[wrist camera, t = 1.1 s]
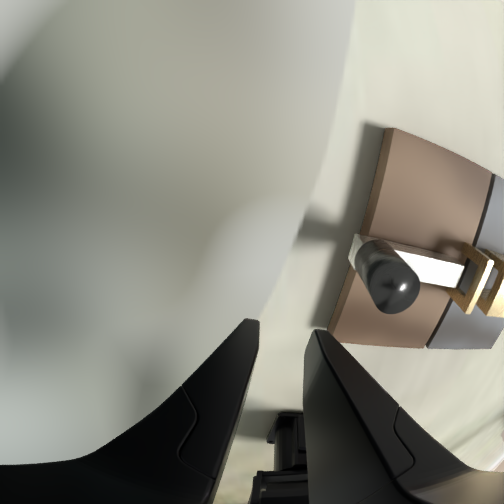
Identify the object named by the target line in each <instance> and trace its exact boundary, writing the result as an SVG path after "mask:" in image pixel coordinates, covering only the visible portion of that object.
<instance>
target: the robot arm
mask: <svg viewBox="0 0 504 504" xmlns="http://www.w3.org/2000/svg"><path fill="white" fill-rule="evenodd" d="M259 329H260V322H259V321H258V320H254V319H248V318H246V319H244V320H243V321H242V322H241V323H240V324H239V325H238V327H237V328H236V329H235V330H234V331H233V332H232V333H231V334H230V335H229V336H228V337H227V339H225V340H224V341H223V342H222V344H221V345H220V346H219V347H218V348H217V349H216V350H215V351H214V352H213V353H212V354H211V355H210V356H209V357H208V358H207V359H206V360H205V361H204V362H203V364H202V365H200V367H199V368H198V369H197V370H196V371H195V372H194V373H193V374H192V375H191V376H190V377H189V378H188V379H187V380H186V381H185V382H184V383H183V384H182V386H180V387H179V388H178V389H177V390H176V391H175V392H174V393H173V394H172V395H171V396H170V397H169V398H168V399H166V400H165V401H164V402H163V403H162V404H161V405H160V406H159V407H158V408H156V409H155V410H154V411H153V412H151V413H150V414H149V415H147V416H146V417H145V418H143V419H142V420H141V421H139V422H138V423H137V424H135V425H134V426H132V427H131V428H129V429H128V430H126V431H125V432H124V433H122V434H121V435H119V436H118V437H116V438H115V439H113V440H112V441H110V442H109V443H107V444H106V445H104V446H103V447H101V448H99V449H98V450H96V451H95V452H92V453H90V454H88V455H86V456H83V457H80V458H76V459H72V460H66V461H58V462H48V463H37V464H20V465H0V504H213V501H214V498H215V495H216V492H217V489H218V486H219V483H220V480H221V477H222V474H223V471H224V468H225V465H226V462H227V459H228V455H229V452H230V449H231V446H232V443H233V440H234V436H235V433H236V430H237V427H238V423H239V420H240V417H241V413H242V410H243V407H244V403H245V400H246V396H247V392H248V389H249V385H250V381H251V377H252V373H253V370H254V366H255V362H256V358H257V354H258V350H259ZM303 412H304V414H294V413H279V414H278V415H277V417H276V420H275V422H274V424H273V426H272V428H271V431H270V433H269V435H268V437H267V443H269V444H275V446H274V471H257V476H254V477H253V487H252V492H251V495H250V498H249V501H248V504H504V472H488V471H480V470H476V469H474V468H471V467H469V466H467V465H466V464H464V463H463V462H462V461H460V460H459V459H458V458H457V457H455V456H454V455H453V454H452V453H451V452H450V451H448V450H447V449H446V448H445V447H444V446H442V445H441V444H440V443H439V442H438V441H436V440H435V439H434V438H433V437H432V436H431V435H430V434H428V433H427V432H426V431H425V430H424V429H423V428H422V427H421V426H420V425H419V424H418V423H417V422H416V421H415V420H414V419H413V418H412V417H411V416H410V415H409V414H408V413H407V412H406V411H405V410H404V409H403V408H402V407H399V404H398V403H397V402H396V401H395V400H394V399H393V398H392V397H391V396H390V395H389V394H388V393H387V392H386V391H385V390H384V389H383V387H382V386H381V385H380V384H379V383H378V382H377V381H376V380H375V379H374V378H373V377H372V376H371V375H370V374H369V373H368V372H367V371H366V370H365V369H364V368H363V367H362V366H361V365H360V363H359V362H358V361H357V360H356V359H355V358H354V357H353V356H352V355H351V354H350V353H349V352H348V351H347V350H346V349H345V348H344V347H343V346H342V345H341V344H340V343H339V342H338V341H337V340H336V338H335V337H334V336H333V335H332V334H331V333H330V332H329V331H327V330H320V329H315V330H313V332H312V334H311V337H310V339H309V342H308V345H307V347H306V350H305V355H304V380H303Z"/></svg>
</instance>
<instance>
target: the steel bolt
mask: <svg viewBox="0 0 504 504" xmlns="http://www.w3.org/2000/svg"><path fill="white" fill-rule="evenodd" d="M348 259H349V261H350V263H351V265H352V266H353V268H354V270H356V271H357V273H358V274H359V276H360V278H361V280H362V281H363V283H364V285H365V287H366V289H367V291H368V292H369V294H370V296H371V298H372V300H373V302H374V304H375V305H376V307H377V308H378V310H380V311H381V312H383V313H385V314H397V313H400V312H403V311H404V310H406V309H407V308H409V307H410V306H411V305H412V304H413V303H414V301H415V300H416V298H417V297H418V294H419V291H420V282H426V283H431V284H437V285H442V286H448V287H453V288H456V286H457V284H458V282H459V279H460V277H461V275H462V272H463V270H464V267H465V266H464V265H462V264H461V263H460V262H459V261H458V260H456V259H455V258H454V257H452V256H448V255H445V254H441V253H437V252H433V251H429V250H425V249H421V248H417V247H412V246H408V245H404V244H400V243H396V242H391V241H387V240H383V239H378V238H374V237H369V236H365V235H360V234H356V233H355V235H354V239H353V242H352V246H351V249H350V252H349V255H348Z"/></svg>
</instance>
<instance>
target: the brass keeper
mask: <svg viewBox="0 0 504 504" xmlns="http://www.w3.org/2000/svg"><path fill="white" fill-rule="evenodd" d="M461 252H462V253H463V254H464V255H465V256H467V257H468V258H469V259H471V260H472V261H473V262H474V263H476V264H477V265H478V268H477V270H476V273H475V275H474V277H473V280H472V282H471V284H470V287H469V289H468V291H467V293H466V294H465V293H464V292H463V291H462V290H461V289H460V288H459V287H458V286H456V288H453V287H448V286H447V288H446V290H445V292H446V293H447V294H448V295H449V296H450V297H451V298H452V299H453V300H454V302H455V303H456V304H457V305H458V306H459V307H460V308H461V310H462V311H463V312H464V313H465V314H471V312H472V310H473V308H474V306H475V304H476V305H477V306H478V307H479V309H480V310H481V311H482V312H483V313H484V314H485V315H486V316H492V317H502V318H504V255H503V254H500V253H497V252H494V251H491V250H488V249H485V252H484V253H483V252H481V251H480V250H478V249H477V248H476V247H474V246H473V245H471V244H470V243H467V242H465V243H464V246H463V248H462V251H461ZM492 266H493V267H494V268H495V269H496V270H498V271H499V272H498V274H497V277H496V279H495V281H494V284H493V286H492V288H491V290H489V289H484V288H483V287H484V285H485V283H486V280H487V278H488V276H489V273H490V271H491V268H492Z"/></svg>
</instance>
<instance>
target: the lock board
mask: <svg viewBox="0 0 504 504" xmlns="http://www.w3.org/2000/svg"><path fill="white" fill-rule="evenodd" d="M360 235H365V236H369V237H374V238H378V239H383V240H387V241H391V242H396V243H400V244H404V245H408V246H412V247H417V248H421V249H425V250H429V251H433V252H437V253H441V254H445V255H448V256H452V257H454V258H455V259H456V260H458V261H459V262H460V263H461V264H462V265H464V266H465V267H464V270H463V272H462V275H461V277H460V279H459V282H458V284H457V286H458V287H459V288H460V289H461V290H462V291H463V292H464V293H465V294H466V293H467V291H468V289H469V287H470V284H471V282H472V280H473V277H474V275H475V273H476V270H477V268H478V265H477V264H476V263H474V262H473V261H472V260H471V259H469V258H468V257H467V256H465V255H464V254H463V253H462V252H461V251H462V248H463V246H464V243H465V242H467V243H470V244H471V245H473V246H474V247H476V248H477V249H478V250H480V251H481V252H483V253H484V252H485V249H488V250H491V251H494V252H497V253H500V254H503V255H504V179H502V178H501V177H499V176H497V175H495V174H492V172H490V171H489V170H487V169H485V168H483V167H481V166H479V165H477V164H476V163H474V162H472V161H470V160H468V159H466V158H464V157H462V156H460V155H458V154H456V153H454V152H451V151H449V150H447V149H445V148H443V147H441V146H438V145H436V144H434V143H431V142H429V141H427V140H424V139H422V138H419V137H417V136H414V135H412V134H409V133H407V132H404V131H401V130H399V129H396V128H385V131H384V136H383V141H382V146H381V151H380V156H379V160H378V165H377V169H376V174H375V178H374V182H373V186H372V190H371V194H370V198H369V202H368V206H367V210H366V213H365V217H364V220H363V224H362V228H361V231H360ZM498 272H499V271H498V270H496V269H495V268H494V267H493V266H492V268H491V271H490V273H489V276H488V278H487V280H486V283H485V285H484V287H483V288H484V289H489V290H491V288H492V286H493V284H494V281H495V279H496V277H497V274H498ZM446 288H447V286H442V285H437V284H431V283H426V282H420V291H419V294H418V297H417V298H416V300H415V301H414V303H413V304H412V305H411V306H410V307H409V308H407V309H406V310H404V311H403V312H400V313H397V314H385V313H383V312H381V311H380V310H378V308H377V307H376V305H375V304H374V302H373V300H372V298H371V296H370V294H369V292H368V291H367V289H366V287H365V285H364V283H363V281H362V280H361V278H360V276H359V274H358V273H357V271H356V270H354V268H353V266H352V265H351V264H350V267H349V270H348V273H347V276H346V279H345V282H344V285H343V288H342V290H341V293H340V296H339V299H338V302H337V304H336V307H335V310H334V313H333V315H332V318H331V320H330V323H329V326H328V328H327V330H328V331H329V332H330V333H331V334H332V335H333V336H334V337H335V338H336V340H337V341H338V342H341V343H351V344H361V345H373V346H387V347H403V348H424V346H425V345H426V347H427V349H491V348H492V346H493V345H494V343H495V342H496V340H497V338H498V337H499V335H500V333H501V331H502V330H503V328H504V318H502V317H492V316H486V315H485V314H484V313H483V312H482V311H481V310H480V309H479V307H478V306H477V305H476V304H475V306H474V308H473V310H472V312H471V314H465V313H464V312H463V311H462V310H461V308H460V307H459V306H458V305H457V304H456V303H455V302H454V300H453V299H452V298H451V297H450V296H449V295H448V294H447V293H446V292H445V290H446Z"/></svg>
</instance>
